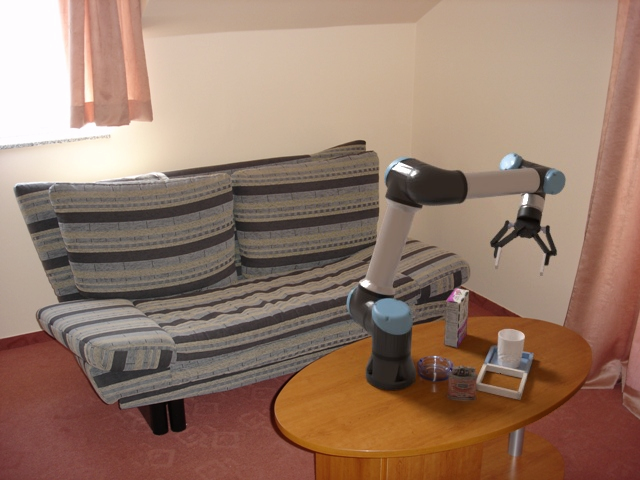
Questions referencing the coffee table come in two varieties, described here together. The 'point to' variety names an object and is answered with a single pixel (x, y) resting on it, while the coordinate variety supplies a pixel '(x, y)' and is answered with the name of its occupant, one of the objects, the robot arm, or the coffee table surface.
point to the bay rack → (495, 367)
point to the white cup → (510, 347)
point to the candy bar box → (456, 317)
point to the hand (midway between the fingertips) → (518, 270)
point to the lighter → (462, 383)
